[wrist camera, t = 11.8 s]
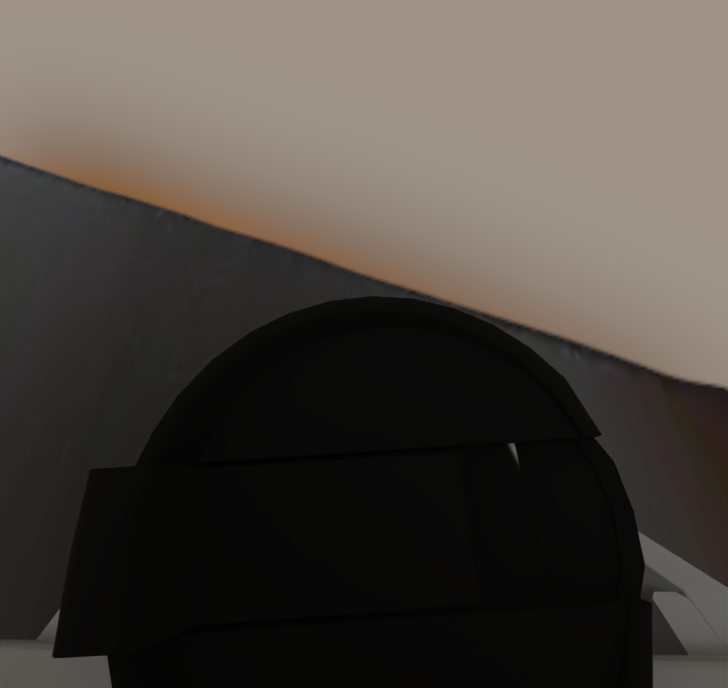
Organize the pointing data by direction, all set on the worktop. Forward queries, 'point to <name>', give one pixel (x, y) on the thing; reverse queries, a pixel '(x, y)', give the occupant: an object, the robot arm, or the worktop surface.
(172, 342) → the worktop surface
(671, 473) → the worktop surface
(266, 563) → the travel mug
